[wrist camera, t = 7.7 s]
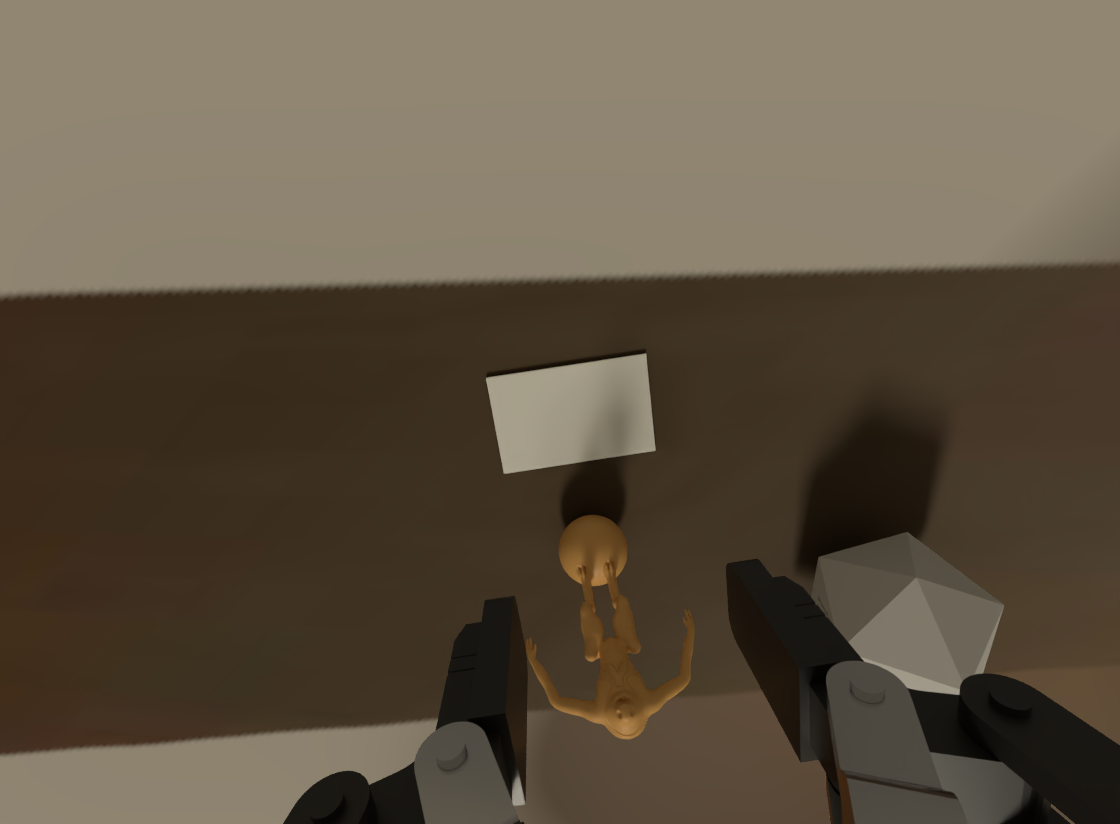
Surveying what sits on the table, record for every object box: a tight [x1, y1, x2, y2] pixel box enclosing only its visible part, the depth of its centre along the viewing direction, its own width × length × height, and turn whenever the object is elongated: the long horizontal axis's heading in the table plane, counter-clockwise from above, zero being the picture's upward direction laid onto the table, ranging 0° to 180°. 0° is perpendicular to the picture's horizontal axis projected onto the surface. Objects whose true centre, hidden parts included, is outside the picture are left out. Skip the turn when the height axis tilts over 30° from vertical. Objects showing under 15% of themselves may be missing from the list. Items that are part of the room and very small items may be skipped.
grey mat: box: [486, 353, 656, 474], centre depth 30 cm, size 9×6×1 cm, turn 98°
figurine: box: [526, 515, 695, 739], centre depth 26 cm, size 8×6×12 cm
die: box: [811, 532, 1004, 695], centre depth 29 cm, size 8×9×10 cm
